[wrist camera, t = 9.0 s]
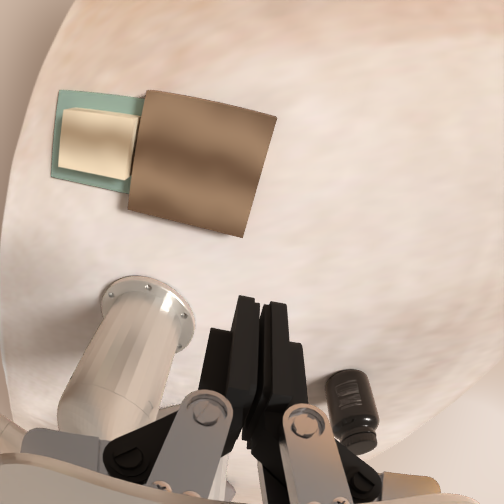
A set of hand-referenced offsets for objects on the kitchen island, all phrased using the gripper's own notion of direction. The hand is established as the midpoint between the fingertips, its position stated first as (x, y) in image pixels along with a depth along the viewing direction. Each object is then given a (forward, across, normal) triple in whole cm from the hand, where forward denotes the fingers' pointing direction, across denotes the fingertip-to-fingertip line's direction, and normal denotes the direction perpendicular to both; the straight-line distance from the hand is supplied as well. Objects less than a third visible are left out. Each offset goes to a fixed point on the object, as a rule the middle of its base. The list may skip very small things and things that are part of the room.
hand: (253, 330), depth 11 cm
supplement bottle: (+22, -19, +27) cm, 40 cm away
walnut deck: (+22, +6, 0) cm, 23 cm away
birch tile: (+22, +16, -1) cm, 27 cm away
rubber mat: (+22, +18, -1) cm, 28 cm away
